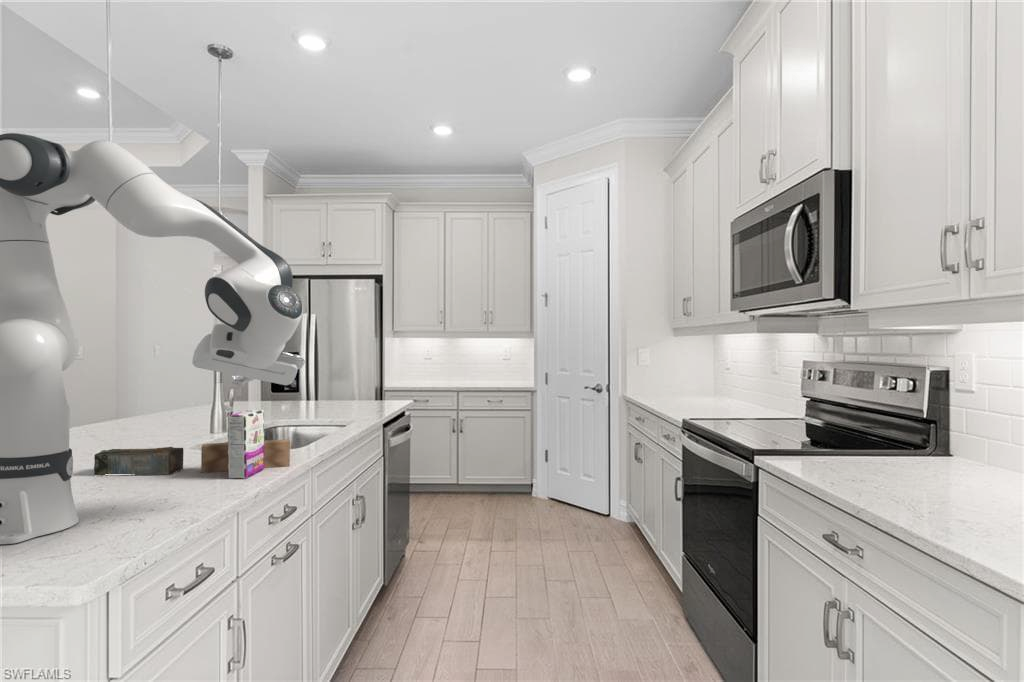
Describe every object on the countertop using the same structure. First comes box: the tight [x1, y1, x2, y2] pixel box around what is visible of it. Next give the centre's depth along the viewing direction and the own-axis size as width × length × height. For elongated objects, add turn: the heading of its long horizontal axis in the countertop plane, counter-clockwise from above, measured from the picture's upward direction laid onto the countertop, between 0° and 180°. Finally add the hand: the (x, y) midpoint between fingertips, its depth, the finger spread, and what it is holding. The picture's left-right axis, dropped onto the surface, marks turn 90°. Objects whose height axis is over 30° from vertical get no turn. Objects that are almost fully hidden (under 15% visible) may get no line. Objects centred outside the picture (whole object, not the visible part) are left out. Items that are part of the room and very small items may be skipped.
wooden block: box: [200, 438, 291, 473], centre depth 160 cm, size 22×4×7 cm, turn 114°
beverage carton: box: [93, 446, 184, 476], centre depth 154 cm, size 8×19×7 cm, turn 95°
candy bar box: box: [227, 409, 265, 480], centre depth 153 cm, size 11×5×16 cm, turn 179°
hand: (236, 382), depth 127 cm, fingers closed
